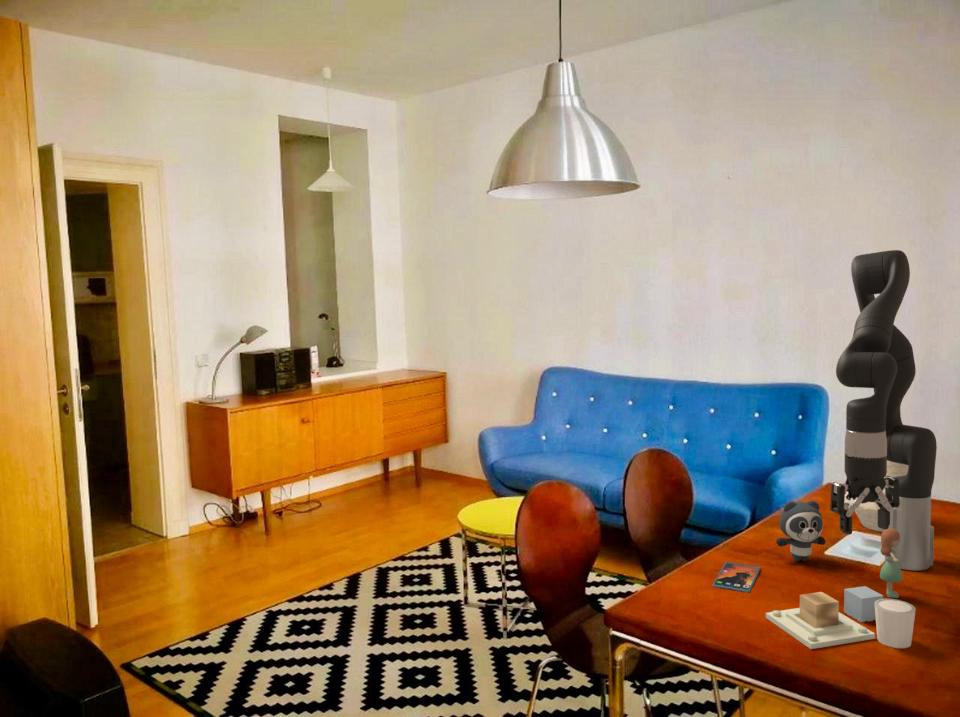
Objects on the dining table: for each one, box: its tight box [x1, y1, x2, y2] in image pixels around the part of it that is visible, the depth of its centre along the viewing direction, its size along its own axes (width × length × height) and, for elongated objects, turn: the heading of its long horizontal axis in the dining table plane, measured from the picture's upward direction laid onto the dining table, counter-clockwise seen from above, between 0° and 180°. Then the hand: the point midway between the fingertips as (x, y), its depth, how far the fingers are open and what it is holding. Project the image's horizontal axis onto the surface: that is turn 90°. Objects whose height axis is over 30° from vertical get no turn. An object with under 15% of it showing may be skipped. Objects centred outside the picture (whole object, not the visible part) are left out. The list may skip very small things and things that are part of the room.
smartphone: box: [712, 561, 761, 594], centre depth 175 cm, size 8×1×15 cm
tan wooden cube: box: [799, 591, 840, 629], centre depth 149 cm, size 5×5×5 cm
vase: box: [850, 460, 909, 533], centre depth 205 cm, size 18×17×23 cm
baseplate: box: [765, 607, 876, 650], centre depth 149 cm, size 14×14×2 cm
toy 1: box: [775, 500, 826, 562], centre depth 183 cm, size 12×10×15 cm
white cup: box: [874, 598, 916, 649], centre depth 142 cm, size 7×7×7 cm
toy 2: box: [879, 528, 904, 599], centre depth 161 cm, size 13×4×15 cm, turn 163°
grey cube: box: [843, 585, 884, 623], centre depth 153 cm, size 5×5×5 cm
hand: (864, 530), depth 152 cm, fingers open, 8 cm apart
